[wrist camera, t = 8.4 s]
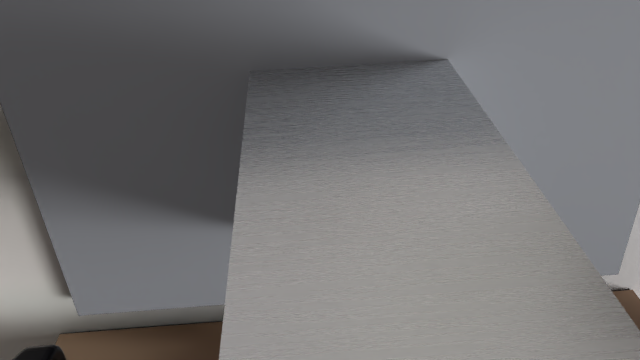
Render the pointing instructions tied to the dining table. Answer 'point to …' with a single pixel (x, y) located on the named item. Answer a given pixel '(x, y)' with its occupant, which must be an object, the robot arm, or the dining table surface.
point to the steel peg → (400, 230)
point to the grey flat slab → (230, 106)
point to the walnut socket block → (192, 339)
